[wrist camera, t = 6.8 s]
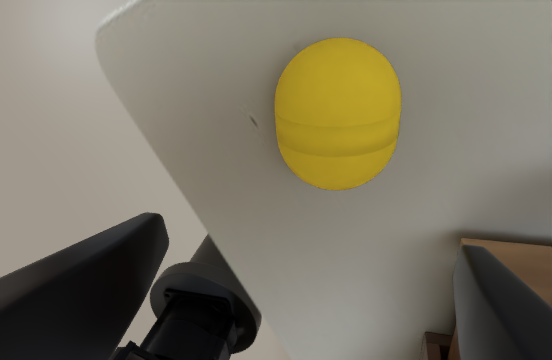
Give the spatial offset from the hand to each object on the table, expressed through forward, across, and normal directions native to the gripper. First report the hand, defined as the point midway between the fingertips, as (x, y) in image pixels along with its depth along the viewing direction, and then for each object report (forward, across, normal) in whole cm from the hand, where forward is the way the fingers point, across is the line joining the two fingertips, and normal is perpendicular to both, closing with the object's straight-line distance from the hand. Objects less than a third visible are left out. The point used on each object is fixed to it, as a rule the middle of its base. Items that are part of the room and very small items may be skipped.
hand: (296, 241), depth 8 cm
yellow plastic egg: (+11, 0, 0) cm, 11 cm away
